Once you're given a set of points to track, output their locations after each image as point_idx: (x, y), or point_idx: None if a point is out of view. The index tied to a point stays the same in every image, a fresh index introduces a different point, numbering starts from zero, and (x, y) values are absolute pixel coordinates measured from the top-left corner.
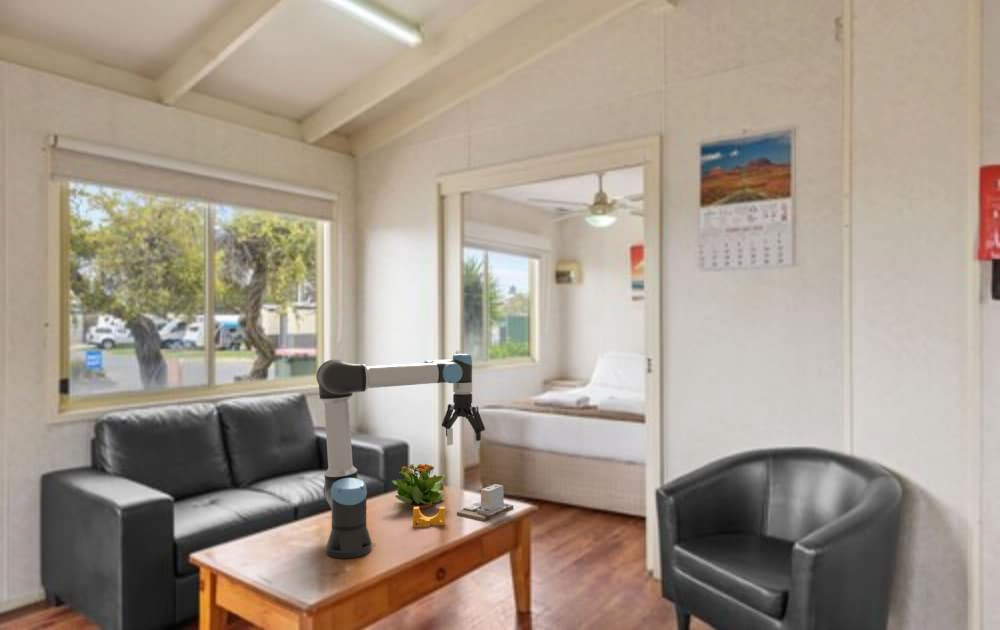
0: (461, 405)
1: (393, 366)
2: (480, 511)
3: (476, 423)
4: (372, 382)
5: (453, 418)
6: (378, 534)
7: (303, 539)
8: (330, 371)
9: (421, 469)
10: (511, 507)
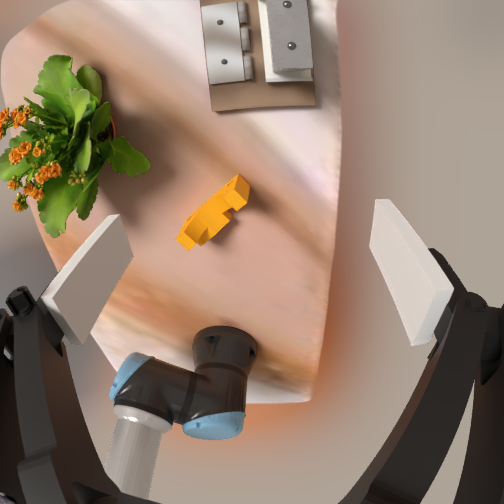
0: None
1: None
2: (280, 81)
3: (473, 420)
4: None
5: (96, 456)
6: (194, 294)
7: (145, 347)
8: None
9: (43, 173)
10: None
